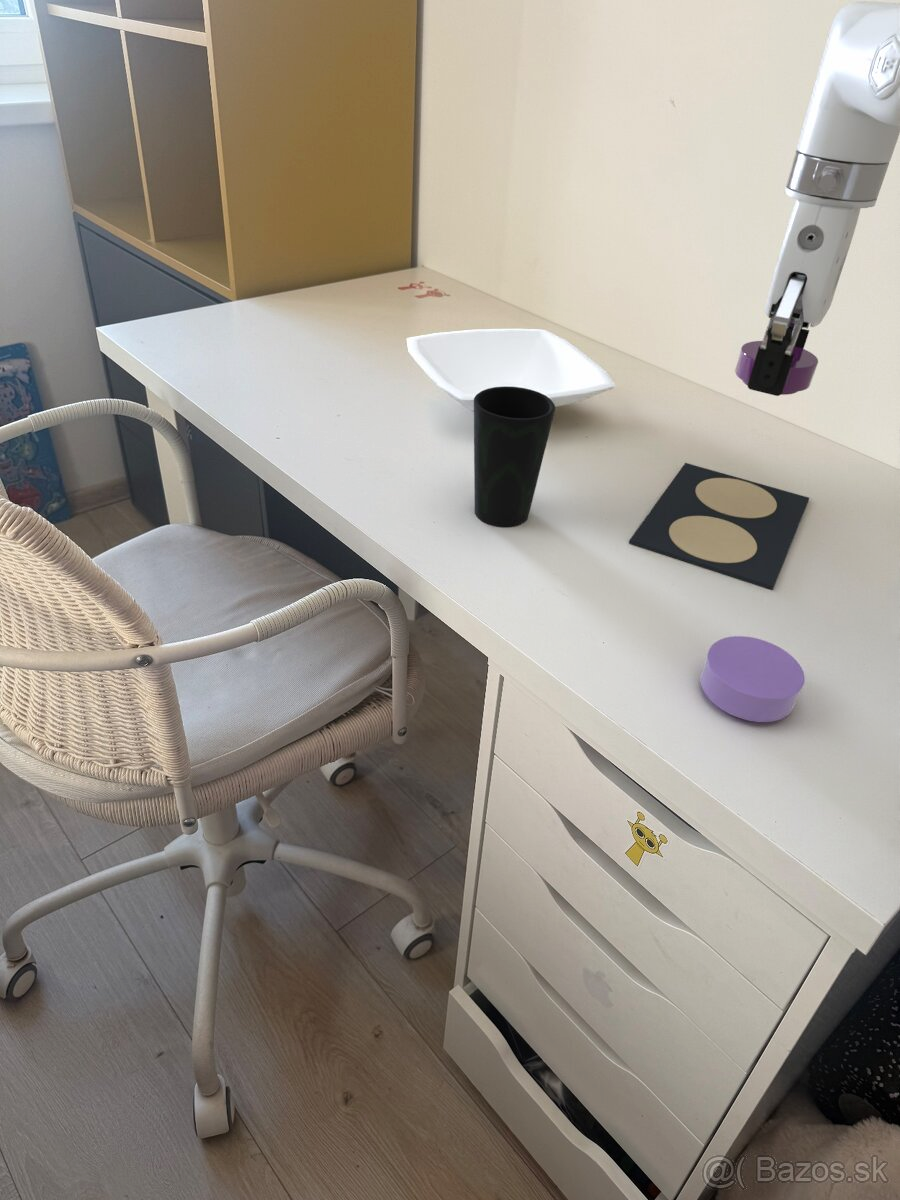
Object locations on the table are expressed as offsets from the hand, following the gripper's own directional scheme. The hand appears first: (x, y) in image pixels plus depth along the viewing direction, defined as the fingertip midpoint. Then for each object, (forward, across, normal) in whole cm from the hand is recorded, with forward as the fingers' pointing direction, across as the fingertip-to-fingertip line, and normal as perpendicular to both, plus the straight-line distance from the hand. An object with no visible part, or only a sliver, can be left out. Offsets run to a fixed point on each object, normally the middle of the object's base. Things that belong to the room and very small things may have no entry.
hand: (772, 377), depth 81 cm
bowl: (+14, +8, +32) cm, 36 cm away
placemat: (+14, -5, 0) cm, 15 cm away
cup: (+14, -17, +20) cm, 30 cm away
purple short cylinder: (+1, 0, 0) cm, 1 cm away
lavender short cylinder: (+14, -31, -8) cm, 35 cm away
